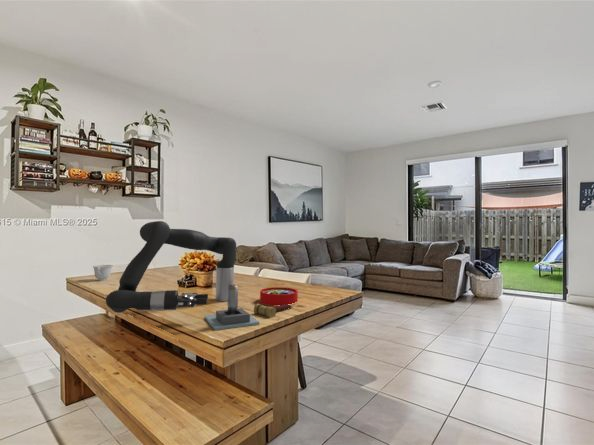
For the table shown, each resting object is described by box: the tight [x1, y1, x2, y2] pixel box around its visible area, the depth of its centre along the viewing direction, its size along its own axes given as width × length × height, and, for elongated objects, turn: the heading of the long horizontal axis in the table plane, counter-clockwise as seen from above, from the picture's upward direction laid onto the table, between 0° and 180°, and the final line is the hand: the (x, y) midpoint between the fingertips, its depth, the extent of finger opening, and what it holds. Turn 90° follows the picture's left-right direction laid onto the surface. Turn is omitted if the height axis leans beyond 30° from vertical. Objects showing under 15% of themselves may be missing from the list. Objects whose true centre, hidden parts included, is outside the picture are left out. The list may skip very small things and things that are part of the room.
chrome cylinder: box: [227, 284, 239, 315], centre depth 132 cm, size 4×4×14 cm
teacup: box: [92, 264, 113, 282], centre depth 223 cm, size 12×15×10 cm
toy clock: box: [259, 286, 299, 306], centre depth 171 cm, size 20×6×20 cm
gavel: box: [253, 303, 293, 318], centre depth 151 cm, size 21×5×10 cm
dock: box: [204, 307, 260, 331], centre depth 134 cm, size 18×18×4 cm
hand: (207, 299), depth 130 cm, fingers open, 8 cm apart
